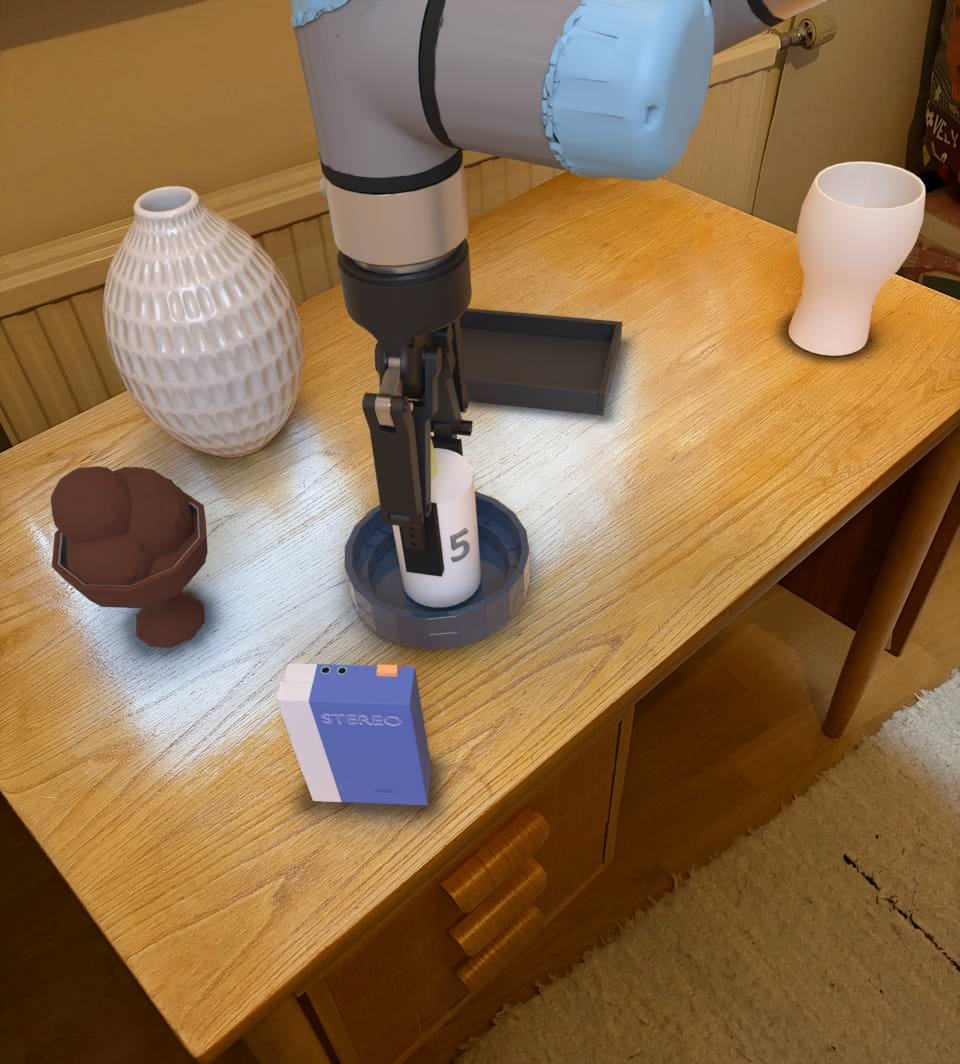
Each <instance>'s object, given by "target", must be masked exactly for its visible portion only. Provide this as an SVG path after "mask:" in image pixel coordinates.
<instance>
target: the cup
mask: <svg viewBox="0 0 960 1064" xmlns="http://www.w3.org/2000/svg"><path fill="white" fill-rule="evenodd" d="M926 193H927V191H926V186H925V184H924V183H923V181H922V179H921V178H920V177H918V176H917V175H916V174H914V173H913V172H911V171H909V170H906V169H904V168H903V167H899V166H896V165H892V164H890V163H889V164H888V163H883V162H877V161H846V162H842V163H836V164H833V165H831V166H828V167H825V168H824V169H823V170H821V171H819V172H818V173H817V175H816V176H815V177H814V180H813V182H812V183H811V186H810V187H809V190H808V192H807V194H806V196H805V198H804V201H803V202H802V204H801V209H800V213H799V217H798V222H797V228H796V242H797V256H798V260H799V263H800V266H801V270H802V274H803V279H802V280H803V283H802V290H801V297H800V300H799V301H798V303H797V306H796V308H795V311H794V313H793V314H792V317H791V320H790V323H789V325H788V329H787V330H788V332H787V333H788V336H789V338H790V340H792V342H793V343H794V345H797V346H798V347H800V348H801V349H803V350H805V351H808V352H810V353H814V354H817V355H818V354H819V355H822V356H832V357H833V356H836V357H837V356H845V355H850V354H853V353H855V352H858V351H860V350H861V349H862V348H864V347H865V346H866V343H867V342H868V338H869V332H870V327H871V318H872V309H873V306H874V304H875V303H876V302H875V301H876V300H877V298H878V295H879V294H880V291H881V289H882V288H883V287H884V285H885V284H886V283H887V282H888V281H890V279H891V278H892V277H894V275H895V274H896V273H897V272H898V271H899V270H900V269H901V267H902V265H903V264H904V262H905V261H906V259H907V258H908V257H909V255H910V253H911V252H912V250H913V249H914V248H915V247H914V246H915V245H916V243H917V240H918V237H919V235H920V231H921V228H922V225H923V223H924V214H925V206H926V205H925V204H926Z"/></svg>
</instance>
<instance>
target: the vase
mask: <svg viewBox="0 0 960 1064" xmlns="http://www.w3.org/2000/svg"><path fill="white" fill-rule="evenodd" d="M132 208H133V213H134V216H133V221H132V223H131V224H130V226H129V228H128V229H127V232H126V233H125V235H124V237H123V238H122V240H121V242H120V243H119V246H118V248H117V249H116V251H115V253H114V255H113V257H112V259H111V262H110V265H109V267H108V270H107V272H106V273H107V274H106V279H105V285H104V289H103V304H102V315H103V316H102V317H103V324H104V325H103V326H104V333H105V339H106V343H107V346H108V350H109V354H110V357H111V359H112V362H113V365H114V367H115V368H116V372H117V373H118V376H119V379H120V381H121V382H122V385H123V386H124V387H125V389H126V391H127V392H128V394H129V396H130V397H131V399H132V400H133V402H134V403H135V404H136V405H137V407H138V408H140V410H141V411H142V412H143V413H144V415H146V416H147V418H149V420H150V421H151V422H152V423H153V424H155V426H157V427H159V428H160V429H161V430H163V431H164V432H166V433H167V434H168V435H169V436H171V437H172V438H174V439H175V440H176V441H178V442H180V443H182V444H184V445H186V446H188V447H190V448H192V449H194V450H195V451H199V452H203V453H206V454H209V455H211V456H216V457H218V458H219V457H220V458H228V459H230V458H231V459H233V458H240V457H245V456H248V455H251V454H254V453H256V452H258V451H260V450H261V449H263V448H264V447H265V446H267V445H268V444H269V443H270V441H272V439H274V437H275V436H276V435H278V433H279V432H280V431H281V430H282V428H283V427H284V425H286V423H287V421H288V419H289V418H290V416H291V414H292V412H293V410H294V407H295V406H296V403H297V400H298V398H299V395H300V392H301V390H302V385H303V380H304V374H305V373H304V372H305V368H306V346H305V344H306V343H305V342H306V341H305V334H304V329H303V324H302V319H301V315H300V311H299V309H298V306H297V303H296V300H295V296H294V294H293V291H292V290H291V288H290V286H289V284H288V282H287V280H286V278H285V276H284V274H283V272H282V271H281V270H280V268H279V267H278V266H277V264H276V262H275V261H274V260H273V258H272V257H271V255H270V254H269V253H268V252H267V251H266V250H265V248H263V246H261V245H260V243H259V242H258V241H257V240H256V239H254V238H253V237H252V236H251V235H249V234H248V233H247V232H246V231H245V230H243V229H242V227H239V226H238V225H236V224H235V223H233V222H232V221H230V220H229V219H226V218H225V217H224V216H222V215H221V214H219V213H216V211H214V210H212V209H210V207H207V206H206V205H205V204H203V202H202V200H201V198H200V195H199V194H198V193H197V192H196V191H195V190H193V189H191V188H190V187H186V186H180V185H169V186H161V187H156V188H154V189H150V190H148V191H146V192H144V193H142V194H141V195H140V196H138V197H137V199H136V200H135V201H134V202H133V207H132Z"/></svg>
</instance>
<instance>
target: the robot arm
mask: <svg viewBox="0 0 960 1064" xmlns="http://www.w3.org/2000/svg"><path fill="white" fill-rule="evenodd" d="M827 1H828V0H290V6H291V17H290V24H291V28H292V29H293V30H294V35H295V40H296V44H297V50H298V55H299V59H300V63H301V69H302V72H303V78H304V83H305V87H306V92H307V95H308V101H309V106H310V110H311V115H312V119H313V124H314V129H315V130H314V131H315V135H316V140H317V144H318V145H317V146H318V156H319V163H320V169H321V173H322V177H320V178H319V182H318V186H317V188H318V190H319V193H320V194H321V195H322V196H325V197H326V200H327V207H328V211H329V217H330V222H331V223H330V224H331V227H332V233H333V239H334V244H335V247H337V249H338V253H337V257H336V261H337V267H338V271H339V278H340V284H341V288H342V295H343V299H344V306H345V310H346V312H347V314H348V316H349V317H350V318H351V319H352V321H353V322H354V323H355V324H357V325H358V326H359V327H360V328H362V329H364V330H365V331H367V332H368V333H369V334H370V335H372V336H373V338H375V339H376V341H377V342H376V344H375V346H374V367H375V371H376V372H377V374H378V377H379V378H378V379H379V390H378V393H374V392H365V393H364V395H363V397H362V400H361V406H362V407H361V408H362V413H363V414H364V417H365V421H366V424H367V426H368V429H369V434H370V435H369V436H370V442H371V449H372V450H371V451H372V457H373V464H374V470H375V479H376V487H377V493H378V501H379V505H380V507H381V514H382V521H383V523H384V524H389V525H397V526H399V530H400V536H401V542H402V548H403V554H404V561H405V567H406V572H410V573H418V574H425V575H432V576H439V577H442V575H443V572H444V562H443V554H442V545H441V537H440V528H439V520H438V511H437V503H432V502H431V440H432V443H433V447H434V448H439V449H447V450H450V451H453V452H456V453H458V454H460V455H461V456H463V457H464V452H463V441H462V438H458V436H466V437H471V436H472V433H473V424H474V423H473V420H469V419H463V416H462V414H463V413H464V414H465V413H467V410H468V408H469V404H470V403H469V402H470V401H468V397H467V387H466V377H465V368H464V358H463V348H462V338H461V329H460V319H459V318H460V317H461V316H462V315H463V314H464V312H465V311H466V310H467V308H469V306H470V304H471V301H472V296H473V295H472V294H473V291H472V290H473V289H472V278H471V277H472V276H471V275H472V274H471V261H470V260H471V259H470V258H471V257H470V247H469V243H468V240H467V239H466V237H467V235H468V232H469V218H468V217H469V216H468V207H467V206H468V204H467V203H468V201H467V189H466V176H465V174H466V173H465V162H464V161H465V160H464V153H463V151H471V152H475V153H481V154H485V155H490V156H495V157H498V158H504V159H509V160H514V161H518V162H522V163H523V162H524V163H528V164H532V165H537V166H542V167H546V168H551V169H556V170H562V171H566V172H569V173H570V174H573V175H577V176H579V177H582V178H585V179H586V178H593V179H604V178H606V177H607V178H613V179H614V178H615V179H624V180H632V181H633V180H634V181H643V182H645V181H653V180H654V181H655V180H657V179H660V178H662V177H664V176H665V175H667V174H669V173H670V172H671V171H672V170H673V169H674V168H675V167H676V166H677V165H678V163H679V162H680V161H681V160H682V158H683V157H684V155H685V154H686V153H687V150H688V147H689V143H690V138H691V136H692V135H693V134H694V133H695V132H696V131H697V128H698V126H699V123H700V120H701V117H702V114H703V111H704V106H705V103H706V100H707V99H706V98H707V94H708V90H709V85H710V81H711V75H712V68H713V60H714V56H715V55H717V54H719V53H721V52H724V51H726V50H728V49H731V48H733V47H734V46H738V45H739V44H741V43H743V42H745V41H748V40H749V39H751V38H754V37H756V36H758V35H760V34H763V33H764V32H766V31H768V30H770V29H772V28H774V27H776V26H778V25H779V24H781V23H783V22H785V21H788V20H789V19H790V18H792V17H795V16H797V15H798V14H801V13H803V12H805V11H808V10H810V9H812V8H814V7H817V6H819V5H821V4H822V3H824V2H825V3H826V2H827ZM432 433H433V435H432Z"/></svg>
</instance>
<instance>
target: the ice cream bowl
mask: <svg viewBox="0 0 960 1064" xmlns="http://www.w3.org/2000/svg"><path fill="white" fill-rule="evenodd" d="M50 507H51V516H52V519H53V523H54V526H55V528H57V530H56V531H55V533H54V534H53V535H54V537H53V548H52V559H51V568H52V569H53V570H54V571H55V573H57V574H58V575H59V576H60V577H61V578H62V579H63V580H64V581H65V582H66V583H68V584H69V585H70V586H71V587H73V588H74V589H75V590H76V591H78V592H79V593H80V594H81V595H82V596H84V597H85V598H86V599H87V600H88V601H90V602H91V603H93V604H95V605H97V606H99V607H101V608H118V609H119V608H121V609H140V611H138V613H137V614H136V615H135V616H136V617H135V634H136V635H135V636H136V637H137V638H138V639H139V640H140V641H142V642H143V643H144V644H145V645H146V646H147V647H148V648H162V649H163V648H169V649H172V648H174V647H176V646H178V645H181V644H183V643H185V642H187V641H190V640H192V639H193V638H194V637H195V636H196V635H197V633H198V632H199V631H200V630H201V628H202V626H203V625H204V624H205V623H206V620H205V618H206V617H205V606H204V605H203V604H202V603H201V602H199V601H198V600H197V599H195V598H194V597H193V596H191V595H190V594H189V593H186V592H185V593H184V592H183V590H185V588H186V587H187V586H188V585H189V584H190V583H191V581H192V580H193V579H194V577H196V575H197V574H198V573H199V571H200V570H201V569H202V568H203V566H204V565H205V564H206V561H207V556H208V552H209V551H208V550H209V549H208V548H209V547H208V535H207V534H208V533H207V520H206V512H205V505H204V504H203V503H201V502H200V501H199V500H197V499H196V498H194V497H192V496H191V495H190V494H188V493H187V492H186V491H183V489H182V488H181V487H179V486H178V485H177V484H175V483H174V481H173V480H172V479H170V478H168V477H166V476H164V475H162V474H161V473H160V472H158V471H156V470H155V469H152V468H147V467H139V466H123V467H120V468H118V469H115V470H113V469H111V468H109V467H104V466H100V465H99V466H98V465H96V466H95V465H94V466H85V467H77V468H74V469H73V470H71V471H69V472H68V473H66V474H65V475H64V476H62V477H61V478H60V479H59V480H58V482H57V484H56V486H55V487H54V489H53V490H52V493H51V496H50ZM182 592H183V593H182Z"/></svg>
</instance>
